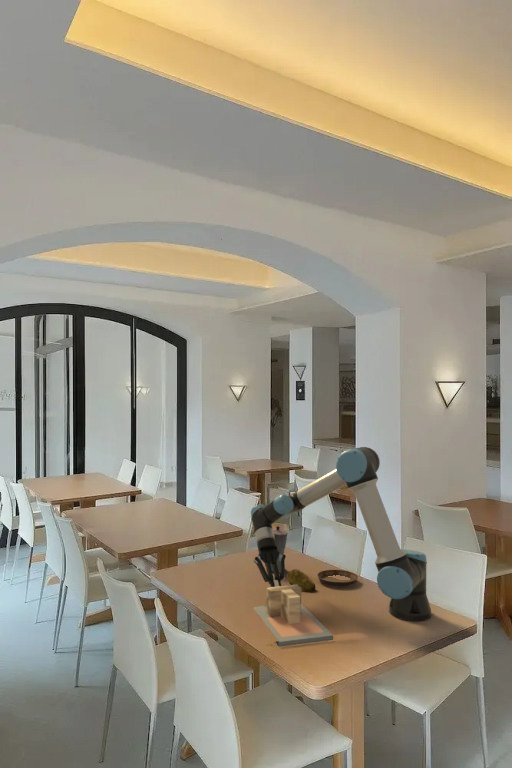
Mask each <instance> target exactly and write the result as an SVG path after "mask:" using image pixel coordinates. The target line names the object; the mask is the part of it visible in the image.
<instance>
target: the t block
mask: <svg viewBox="0 0 512 768" xmlns="http://www.w3.org/2000/svg"><path fill="white" fill-rule="evenodd" d="M301 604H302V591H301V587H299V586H298V585H297V584H296V585H290V584H289V585H281V586H277V587H271V586H269V587H266V605H265V606H266V613H267V614H268V615H269V616H270V617H273V616H282V617H283V618H284V620H285V621H286V622H287V623H288V624H296V623H300V613H301Z"/></svg>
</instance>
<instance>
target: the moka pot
mask: <svg viewBox="0 0 512 768" xmlns="http://www.w3.org/2000/svg"><path fill="white" fill-rule="evenodd" d="M273 533H274V536H275V541H276V545H277V550H278V551H279V553H280V554H281V555H285V549H286V545H287V539H288V533H289V532H287V531H286V530H281V529H280V526H276V529H273ZM277 567H278V571H279V573H280V560H279V557H278V559H277ZM271 569H272V573H274V572H273V568H272V565H271ZM285 571H286V564H285V560H284V572H285Z"/></svg>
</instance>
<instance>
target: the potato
mask: <svg viewBox="0 0 512 768" xmlns="http://www.w3.org/2000/svg"><path fill="white" fill-rule="evenodd" d="M286 576H287V577H286V578H287V581H288V583H289V585H296V584H297V585H298V586H299V587H301V592H306V593H307V592H308V593H309V592H310V593H312V592H316V584H315V582H314V581H313V580H312V579H311V578H310V577H309V576H308V575H307V574H306V573H305V572H303V571H302V570H300V569H298V568H297V569H296V568H295V569H292V570H290V571H288V573H287V575H286Z"/></svg>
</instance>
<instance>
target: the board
mask: <svg viewBox="0 0 512 768" xmlns="http://www.w3.org/2000/svg"><path fill="white" fill-rule="evenodd" d="M252 609H253V610H254V611H255V612H256V613H257V615H258V616H259V618H260V620H262V622H263V623H264V624H265V626H266V627H267V628H268V629H269V631H270V632H271V634H272V635H273V636H274V638H276V641H275V644H277V646H278V647H286V646H287V647H288V646H295V645H303V644H312V643H320V642H327V641H333V640H334V634H332V632H331V631H330V630H328V628H326V627H325V625H324V624H323V623H321V622H320V620H318V619H317V617H315V616H314V615H313V614H312V612H311V611H310V610H308V609H307V607H306V606H304V605H303V604H302V603H301V613H300V623H296V624H288V623H287V622H286V621H285V620H284V618H283V617H282V616H273V617H270V616H269V615H268V614H267V613H266V605H260V606H252Z"/></svg>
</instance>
